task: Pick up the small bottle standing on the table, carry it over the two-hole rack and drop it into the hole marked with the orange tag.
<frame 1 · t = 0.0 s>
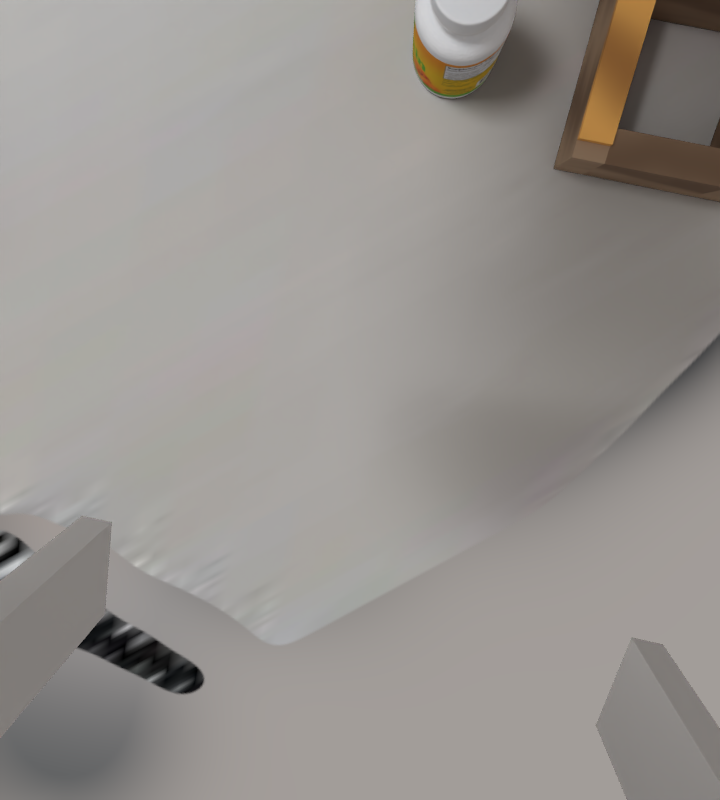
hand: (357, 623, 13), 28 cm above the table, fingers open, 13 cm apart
rack: (694, 7, 32), on the table
supplement bottle: (453, 55, 34), on the table
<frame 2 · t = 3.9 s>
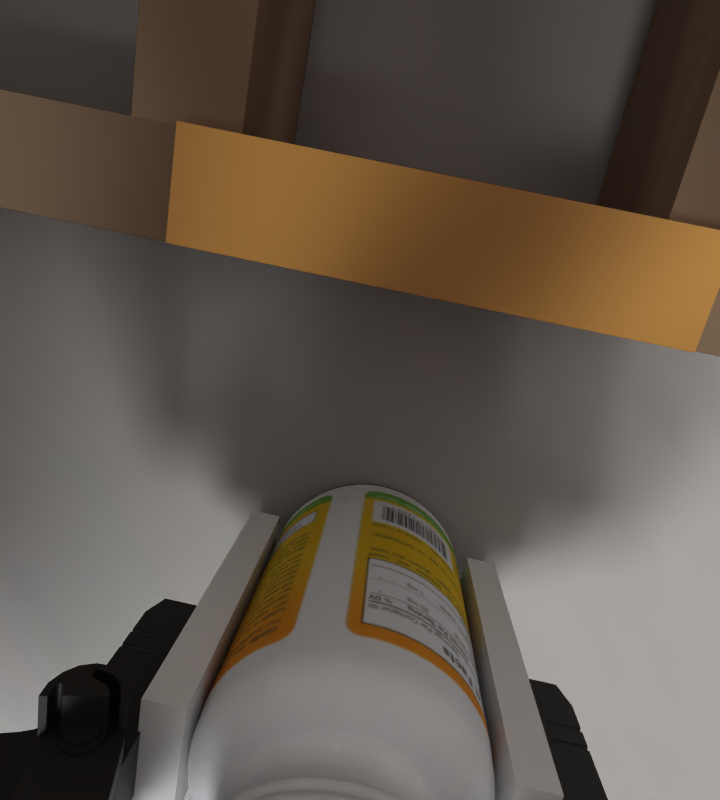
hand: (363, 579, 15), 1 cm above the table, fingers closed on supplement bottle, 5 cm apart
supplement bottle: (365, 559, 16), on the table, touching gripper
when the fingers open (6 cm above the table, at t = 9.3 s): supplement bottle drops 5 cm, resting in rack.
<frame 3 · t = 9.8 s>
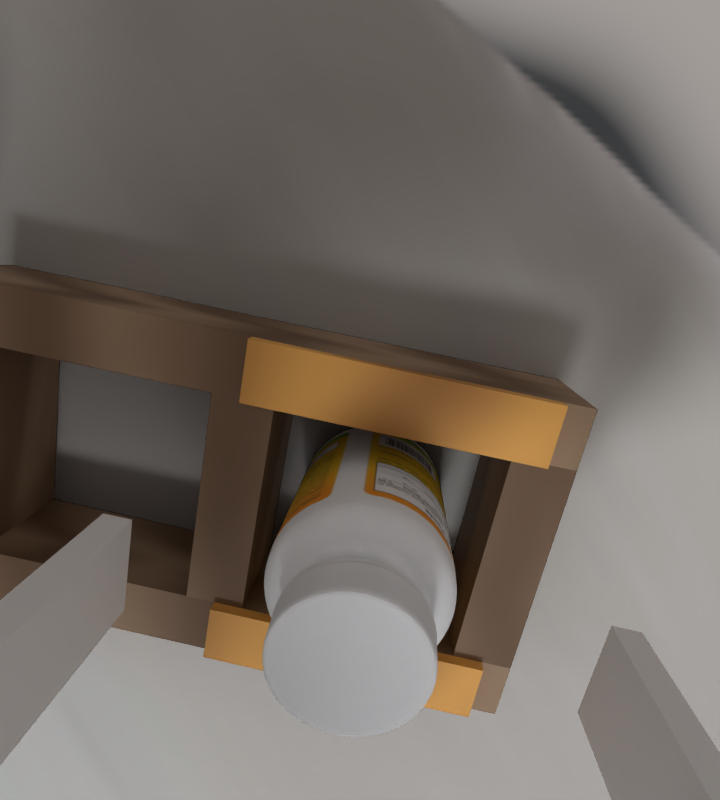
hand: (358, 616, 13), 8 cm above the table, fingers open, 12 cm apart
rack: (259, 461, 21), on the table
supplement bottle: (372, 484, 21), resting in rack
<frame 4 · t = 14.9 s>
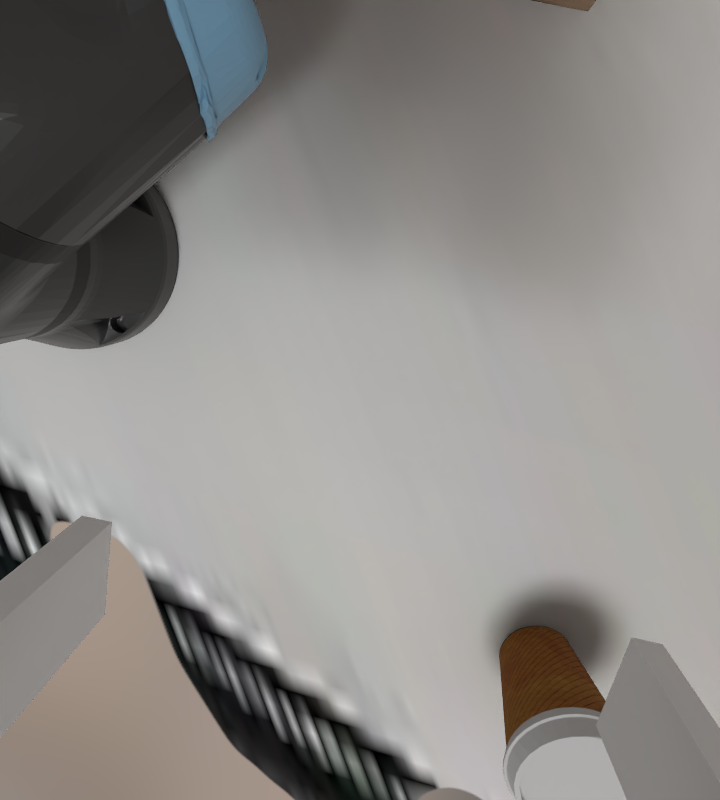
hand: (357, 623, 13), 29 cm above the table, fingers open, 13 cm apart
disposable coffee cup: (534, 654, 46), on the table
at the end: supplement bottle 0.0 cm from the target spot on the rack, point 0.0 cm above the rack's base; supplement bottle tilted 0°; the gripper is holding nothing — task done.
